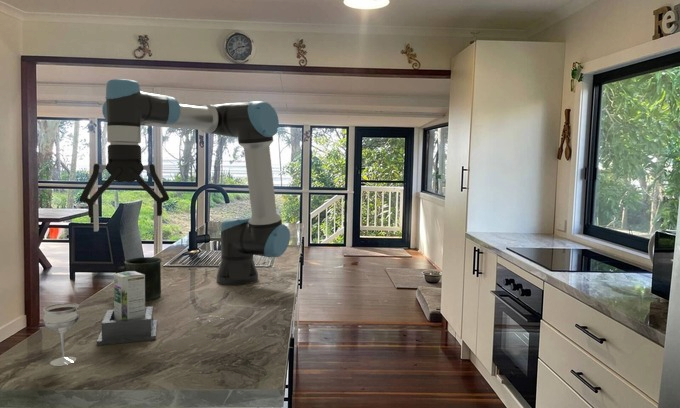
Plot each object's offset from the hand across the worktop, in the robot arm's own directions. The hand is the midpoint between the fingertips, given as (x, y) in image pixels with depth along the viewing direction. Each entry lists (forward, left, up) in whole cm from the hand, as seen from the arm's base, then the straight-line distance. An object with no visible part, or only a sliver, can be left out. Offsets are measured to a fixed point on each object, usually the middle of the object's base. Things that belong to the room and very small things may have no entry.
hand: (126, 229), depth 119 cm
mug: (0, -35, -27) cm, 44 cm away
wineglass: (+12, +14, -27) cm, 33 cm away
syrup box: (0, 0, -26) cm, 26 cm away
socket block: (0, 0, -27) cm, 27 cm away
